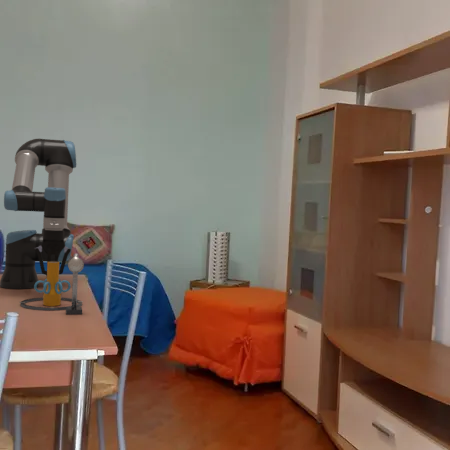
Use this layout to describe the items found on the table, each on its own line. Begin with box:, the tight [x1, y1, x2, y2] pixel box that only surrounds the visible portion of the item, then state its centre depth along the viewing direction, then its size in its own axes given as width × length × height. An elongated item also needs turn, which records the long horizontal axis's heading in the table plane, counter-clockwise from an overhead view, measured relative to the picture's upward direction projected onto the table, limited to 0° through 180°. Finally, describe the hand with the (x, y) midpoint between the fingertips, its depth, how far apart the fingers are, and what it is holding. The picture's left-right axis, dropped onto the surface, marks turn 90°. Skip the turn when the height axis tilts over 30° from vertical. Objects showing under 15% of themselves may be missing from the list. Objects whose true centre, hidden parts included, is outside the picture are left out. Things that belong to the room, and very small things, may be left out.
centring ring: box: [18, 296, 84, 311], centre depth 199 cm, size 21×21×1 cm
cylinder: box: [33, 262, 72, 307], centre depth 198 cm, size 12×10×15 cm
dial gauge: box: [65, 253, 85, 316], centre depth 188 cm, size 8×5×20 cm, turn 18°
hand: (51, 292), depth 210 cm, fingers closed
